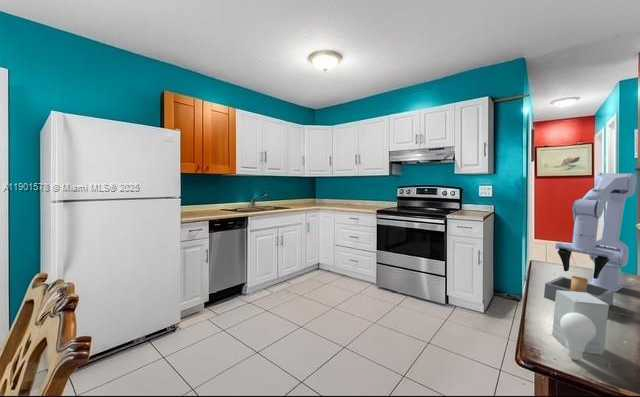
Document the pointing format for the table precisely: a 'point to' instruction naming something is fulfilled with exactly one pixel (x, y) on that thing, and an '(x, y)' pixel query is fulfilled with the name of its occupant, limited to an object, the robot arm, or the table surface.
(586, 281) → the peg
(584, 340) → the lightbulb
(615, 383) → the table surface
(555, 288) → the box
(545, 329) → the table surface
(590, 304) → the supplement box
